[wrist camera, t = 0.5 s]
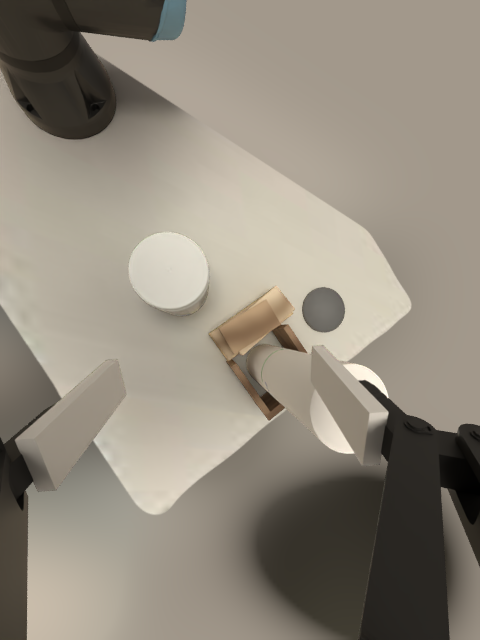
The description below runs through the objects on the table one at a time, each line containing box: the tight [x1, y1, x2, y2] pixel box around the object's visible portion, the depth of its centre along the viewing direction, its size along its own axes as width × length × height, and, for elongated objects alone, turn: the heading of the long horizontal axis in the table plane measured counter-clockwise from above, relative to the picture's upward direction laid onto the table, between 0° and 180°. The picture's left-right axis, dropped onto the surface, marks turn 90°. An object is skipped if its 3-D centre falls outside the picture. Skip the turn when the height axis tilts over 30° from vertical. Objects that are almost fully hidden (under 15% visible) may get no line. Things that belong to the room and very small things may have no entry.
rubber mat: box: [302, 287, 345, 332], centre depth 45 cm, size 9×9×1 cm
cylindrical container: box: [246, 344, 388, 454], centre depth 30 cm, size 7×7×25 cm
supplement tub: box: [128, 232, 210, 316], centre depth 33 cm, size 10×10×15 cm
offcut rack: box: [209, 286, 307, 420], centre depth 39 cm, size 17×15×7 cm
